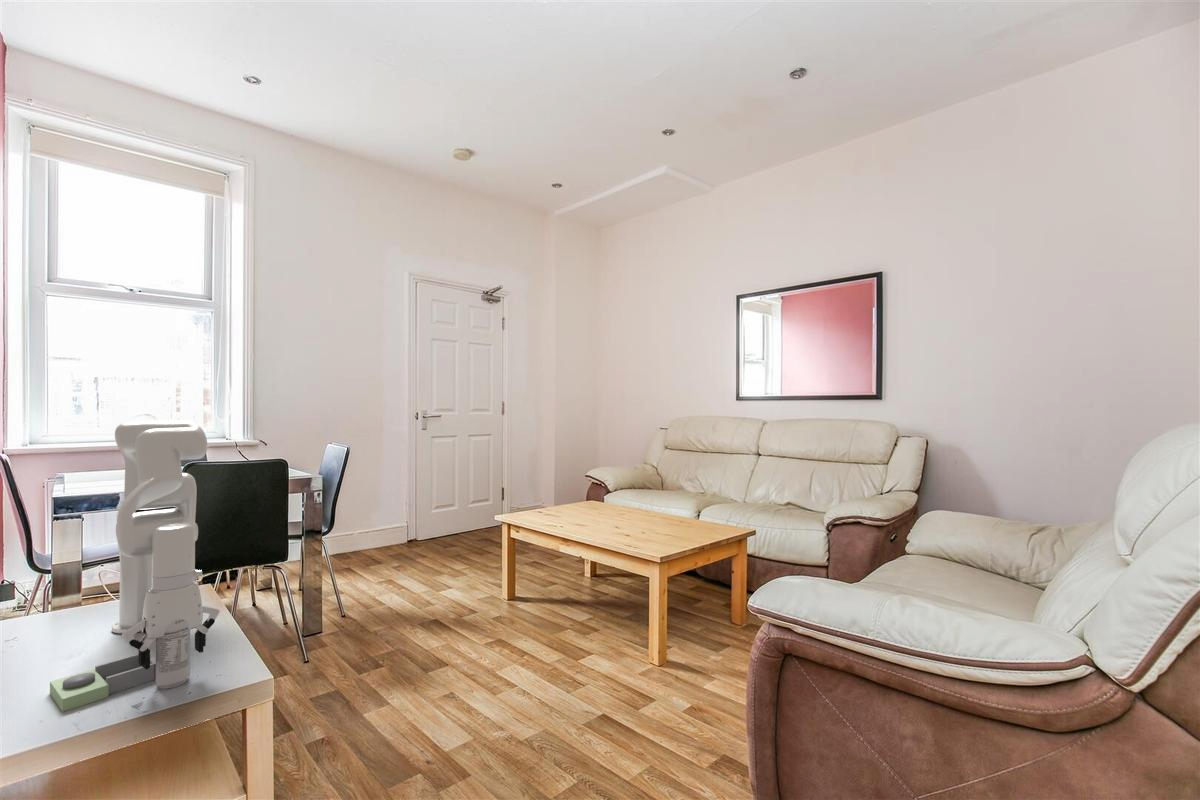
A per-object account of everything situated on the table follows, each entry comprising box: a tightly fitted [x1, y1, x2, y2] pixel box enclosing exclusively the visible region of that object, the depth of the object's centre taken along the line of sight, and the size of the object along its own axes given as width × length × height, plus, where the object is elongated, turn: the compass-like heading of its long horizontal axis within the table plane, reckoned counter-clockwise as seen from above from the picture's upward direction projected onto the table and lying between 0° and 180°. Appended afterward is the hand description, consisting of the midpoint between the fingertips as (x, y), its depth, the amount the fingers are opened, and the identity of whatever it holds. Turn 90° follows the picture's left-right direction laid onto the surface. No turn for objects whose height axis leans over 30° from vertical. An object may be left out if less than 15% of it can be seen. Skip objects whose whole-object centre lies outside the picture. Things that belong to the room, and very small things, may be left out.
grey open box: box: [49, 653, 156, 713], centre depth 119 cm, size 12×16×4 cm
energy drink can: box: [155, 619, 191, 690], centre depth 121 cm, size 6×6×15 cm
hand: (173, 658), depth 121 cm, fingers open, 9 cm apart
